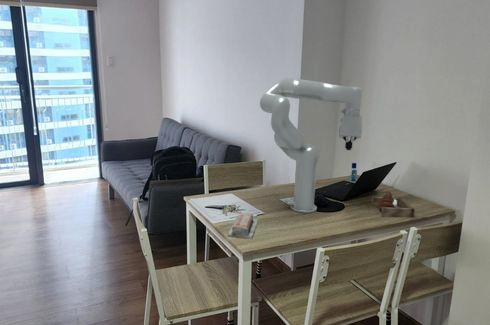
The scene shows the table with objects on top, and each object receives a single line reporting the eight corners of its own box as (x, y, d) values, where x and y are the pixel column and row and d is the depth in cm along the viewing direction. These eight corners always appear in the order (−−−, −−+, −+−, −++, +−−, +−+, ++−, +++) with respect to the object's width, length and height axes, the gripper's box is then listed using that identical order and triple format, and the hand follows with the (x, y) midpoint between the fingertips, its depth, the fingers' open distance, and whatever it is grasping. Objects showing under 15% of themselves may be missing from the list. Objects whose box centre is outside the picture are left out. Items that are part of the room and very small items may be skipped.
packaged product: (252, 228, 159) (227, 226, 160) (252, 240, 160) (227, 237, 161) (258, 212, 176) (235, 210, 178) (258, 222, 177) (235, 220, 179)
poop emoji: (378, 205, 203) (380, 187, 201) (396, 208, 200) (398, 190, 198) (377, 212, 194) (379, 193, 191) (396, 215, 191) (398, 196, 189)
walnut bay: (382, 216, 188) (383, 208, 187) (371, 204, 205) (372, 196, 204) (413, 217, 188) (414, 209, 187) (400, 205, 205) (401, 197, 204)
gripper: (337, 113, 193) (334, 150, 197) (369, 114, 193) (365, 151, 197) (334, 111, 200) (331, 147, 204) (365, 112, 200) (361, 148, 204)
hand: (348, 149), depth 201 cm, fingers closed
